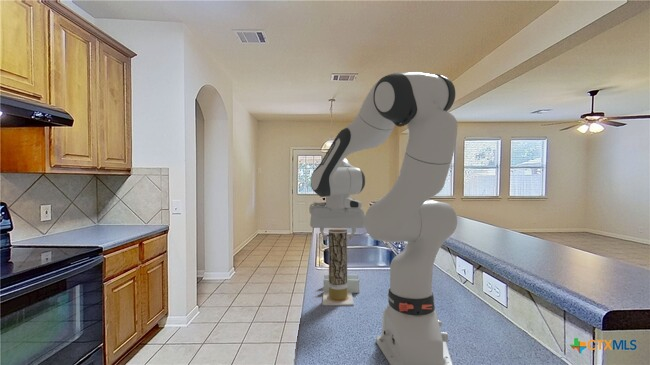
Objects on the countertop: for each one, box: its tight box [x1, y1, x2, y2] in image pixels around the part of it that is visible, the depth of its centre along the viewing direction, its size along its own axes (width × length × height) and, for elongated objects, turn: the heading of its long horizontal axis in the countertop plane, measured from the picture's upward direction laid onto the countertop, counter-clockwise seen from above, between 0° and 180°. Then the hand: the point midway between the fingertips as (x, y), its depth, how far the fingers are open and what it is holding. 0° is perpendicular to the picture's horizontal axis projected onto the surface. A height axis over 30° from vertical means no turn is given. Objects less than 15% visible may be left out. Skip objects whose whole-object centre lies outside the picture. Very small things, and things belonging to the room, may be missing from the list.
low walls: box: [323, 274, 360, 294], centre depth 128 cm, size 7×14×5 cm, turn 88°
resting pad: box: [322, 291, 355, 307], centre depth 118 cm, size 11×11×1 cm
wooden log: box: [328, 228, 348, 300], centre depth 118 cm, size 7×7×25 cm
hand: (337, 239), depth 117 cm, fingers open, 8 cm apart
